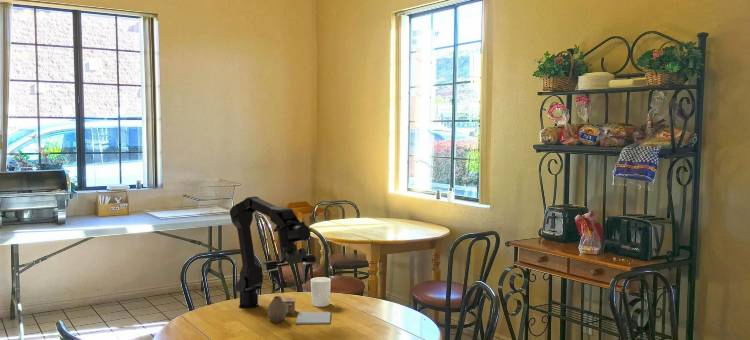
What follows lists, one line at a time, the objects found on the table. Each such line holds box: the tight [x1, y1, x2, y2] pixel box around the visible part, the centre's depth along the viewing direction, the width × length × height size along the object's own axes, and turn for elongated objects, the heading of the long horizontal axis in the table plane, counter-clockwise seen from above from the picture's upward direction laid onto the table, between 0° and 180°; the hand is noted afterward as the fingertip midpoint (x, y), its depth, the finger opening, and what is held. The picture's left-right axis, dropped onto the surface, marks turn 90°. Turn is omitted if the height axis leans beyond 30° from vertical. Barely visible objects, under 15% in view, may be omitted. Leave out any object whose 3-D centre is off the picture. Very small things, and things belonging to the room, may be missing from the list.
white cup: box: [310, 276, 332, 308], centre depth 247 cm, size 8×8×10 cm
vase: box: [267, 295, 288, 323], centre depth 226 cm, size 7×7×9 cm
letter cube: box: [281, 297, 296, 315], centre depth 236 cm, size 5×5×5 cm
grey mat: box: [295, 311, 331, 325], centre depth 229 cm, size 12×12×1 cm
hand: (292, 286), depth 226 cm, fingers open, 9 cm apart
